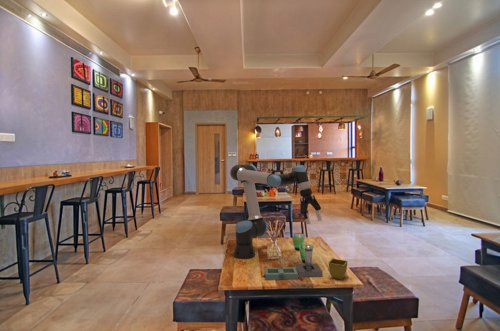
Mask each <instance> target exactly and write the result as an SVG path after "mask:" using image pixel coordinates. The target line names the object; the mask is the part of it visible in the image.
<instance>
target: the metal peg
mask: <svg viewBox="0 0 500 331" xmlns="http://www.w3.org/2000/svg"><path fill="white" fill-rule="evenodd" d="M304 261H305V262H304V264H305V270H311V269H312V264H313V246H312V245H311V244H305V245H304Z"/></svg>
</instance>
